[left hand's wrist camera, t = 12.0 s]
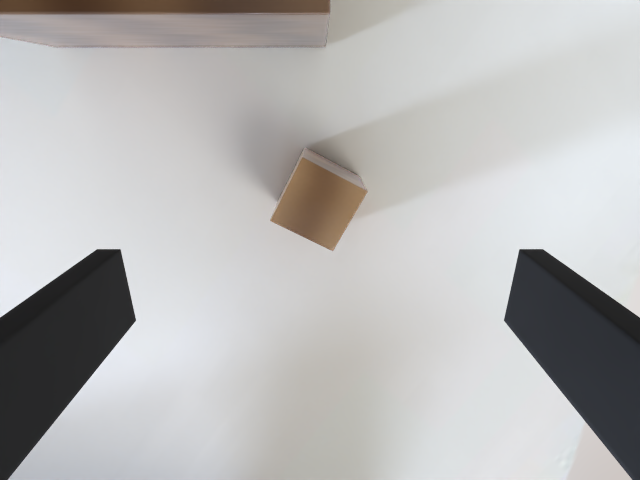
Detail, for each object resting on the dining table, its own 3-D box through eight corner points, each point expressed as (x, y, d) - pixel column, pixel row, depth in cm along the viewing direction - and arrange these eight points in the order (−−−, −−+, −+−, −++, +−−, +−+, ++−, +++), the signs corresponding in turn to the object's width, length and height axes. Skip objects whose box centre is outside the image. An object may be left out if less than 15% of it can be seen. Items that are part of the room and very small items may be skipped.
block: (360, 176, 26) (368, 191, 22) (330, 228, 27) (332, 251, 23) (304, 146, 25) (302, 156, 21) (277, 201, 26) (269, 221, 22)
